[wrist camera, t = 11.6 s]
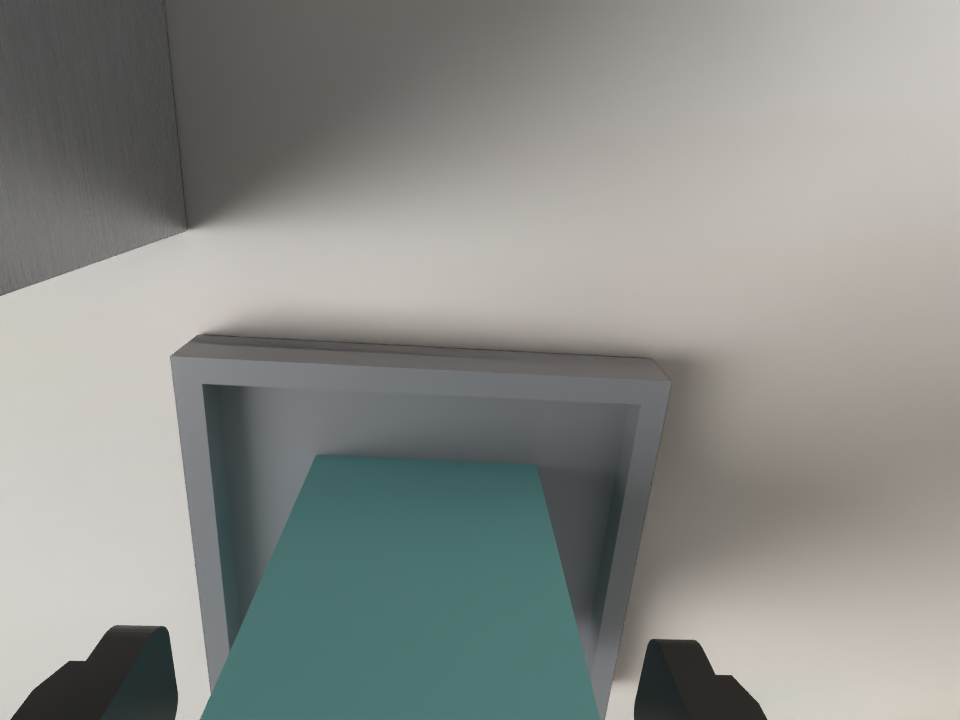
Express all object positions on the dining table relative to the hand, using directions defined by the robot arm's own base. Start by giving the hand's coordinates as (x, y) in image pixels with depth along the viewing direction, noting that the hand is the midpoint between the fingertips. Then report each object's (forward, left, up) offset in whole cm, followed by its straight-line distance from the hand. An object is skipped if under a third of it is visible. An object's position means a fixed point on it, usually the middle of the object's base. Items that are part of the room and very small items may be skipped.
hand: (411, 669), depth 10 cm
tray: (0, 0, -4) cm, 4 cm away
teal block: (0, 0, -3) cm, 3 cm away
